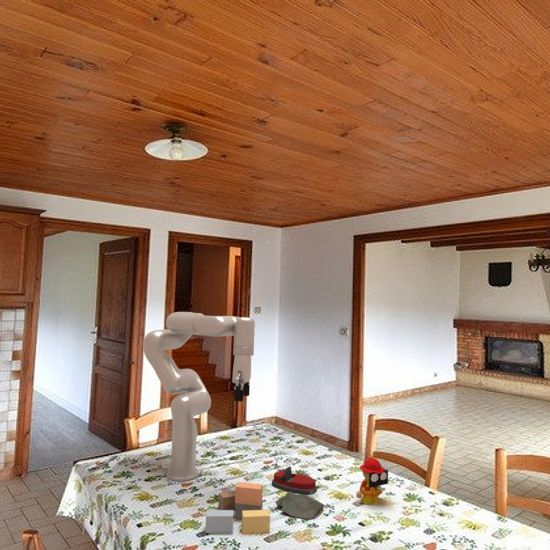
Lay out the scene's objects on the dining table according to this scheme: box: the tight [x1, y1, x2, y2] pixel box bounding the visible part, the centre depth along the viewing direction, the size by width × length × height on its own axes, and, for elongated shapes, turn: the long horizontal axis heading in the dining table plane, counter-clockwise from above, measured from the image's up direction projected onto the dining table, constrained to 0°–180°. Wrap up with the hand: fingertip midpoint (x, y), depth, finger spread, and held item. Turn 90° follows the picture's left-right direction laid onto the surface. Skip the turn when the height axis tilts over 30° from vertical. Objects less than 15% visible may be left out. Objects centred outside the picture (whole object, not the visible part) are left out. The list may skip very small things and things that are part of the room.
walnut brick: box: [218, 489, 235, 512], centre depth 148 cm, size 8×4×5 cm, turn 116°
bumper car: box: [269, 454, 318, 496], centre depth 167 cm, size 10×20×10 cm, turn 60°
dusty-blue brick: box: [204, 509, 234, 534], centre depth 133 cm, size 8×4×5 cm, turn 94°
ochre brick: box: [241, 509, 271, 535], centre depth 134 cm, size 8×4×5 cm, turn 99°
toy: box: [355, 457, 389, 505], centre depth 156 cm, size 11×9×15 cm
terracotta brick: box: [234, 481, 264, 506], centre depth 142 cm, size 8×4×5 cm, turn 80°
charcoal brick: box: [234, 500, 264, 521], centre depth 142 cm, size 8×4×5 cm, turn 80°
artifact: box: [274, 491, 325, 520], centre depth 149 cm, size 14×4×15 cm
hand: (241, 398), depth 163 cm, fingers open, 9 cm apart
